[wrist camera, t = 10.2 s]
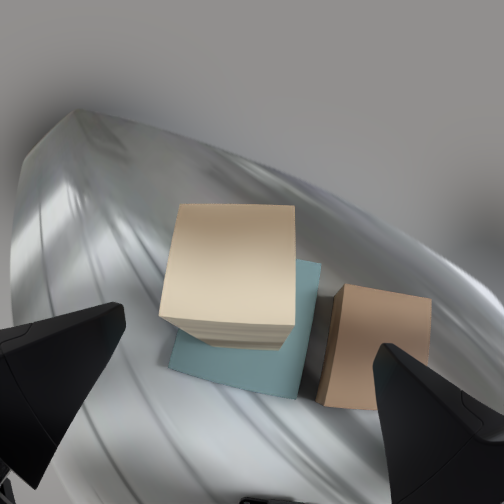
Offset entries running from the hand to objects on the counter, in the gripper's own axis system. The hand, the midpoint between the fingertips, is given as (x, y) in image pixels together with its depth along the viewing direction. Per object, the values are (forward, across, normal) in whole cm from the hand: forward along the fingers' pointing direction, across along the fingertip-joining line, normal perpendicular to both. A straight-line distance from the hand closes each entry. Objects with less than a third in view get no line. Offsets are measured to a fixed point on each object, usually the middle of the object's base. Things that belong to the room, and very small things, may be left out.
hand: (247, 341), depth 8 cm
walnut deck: (+8, -9, +6) cm, 14 cm away
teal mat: (+10, +1, +5) cm, 11 cm away
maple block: (+9, +1, +5) cm, 10 cm away
